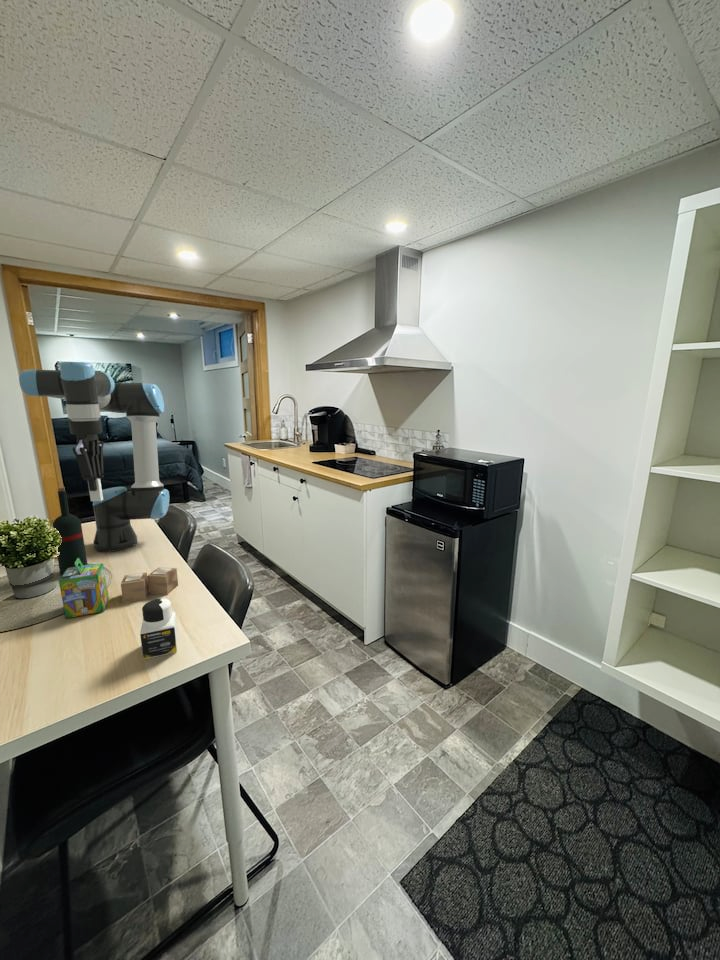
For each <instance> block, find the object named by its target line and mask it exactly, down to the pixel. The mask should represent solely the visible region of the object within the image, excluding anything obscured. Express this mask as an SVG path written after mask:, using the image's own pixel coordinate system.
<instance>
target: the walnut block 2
mask: <svg viewBox="0 0 720 960" xmlns="http://www.w3.org/2000/svg"><path fill="white" fill-rule="evenodd" d="M177 569H178V568H176V567H157V568H156V569H154V570H153V571H152V572H150V573H149V574H147V579H148V588H149V591H148V594H149V595H166V596H167V595H168V596H169V594H170V593H171V592H172V591H174V589H176V588H177V587H178V586H179V580H178V578H179V577H178V570H177Z"/></svg>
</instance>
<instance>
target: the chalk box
mask: <svg viewBox="0 0 720 960" xmlns="http://www.w3.org/2000/svg"><path fill="white" fill-rule="evenodd" d="M78 563H79V564H80V566H79V567H78ZM74 564H75V567H72V568H67V569H66V571H65V572H64V574H63V575H62V576H61V575H60V578H59V580H58V584H59V590H60V595H61V600H62V606H63V610H64V615H65V619H66V620H67V619H71V618H75V617H81V616H86V615H92V614H96V613H102V612H104V611H105V609H106V606H107V604H108V601H109V592H108V586H107V579H106V572H105V564H104V563H103V562H101V563H95V564H88V565H83V564H82V562H81V561H80V559H79V558H77V560H76V561H75V563H74Z"/></svg>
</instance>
